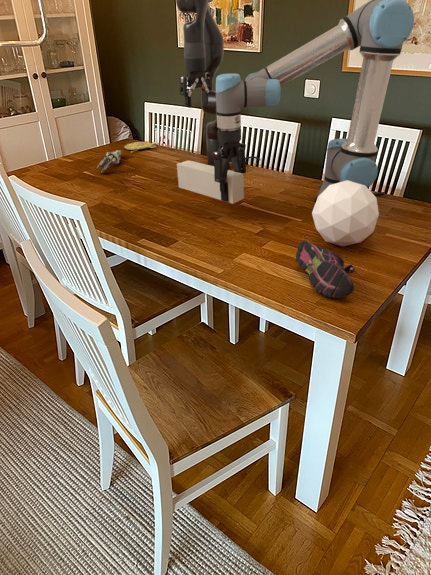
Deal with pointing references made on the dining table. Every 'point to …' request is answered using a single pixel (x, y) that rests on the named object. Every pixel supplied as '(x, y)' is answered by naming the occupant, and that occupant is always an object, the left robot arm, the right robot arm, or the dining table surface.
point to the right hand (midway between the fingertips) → (231, 197)
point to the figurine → (110, 160)
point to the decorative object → (139, 146)
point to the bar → (209, 181)
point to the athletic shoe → (325, 270)
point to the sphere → (345, 213)
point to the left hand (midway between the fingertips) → (197, 105)
